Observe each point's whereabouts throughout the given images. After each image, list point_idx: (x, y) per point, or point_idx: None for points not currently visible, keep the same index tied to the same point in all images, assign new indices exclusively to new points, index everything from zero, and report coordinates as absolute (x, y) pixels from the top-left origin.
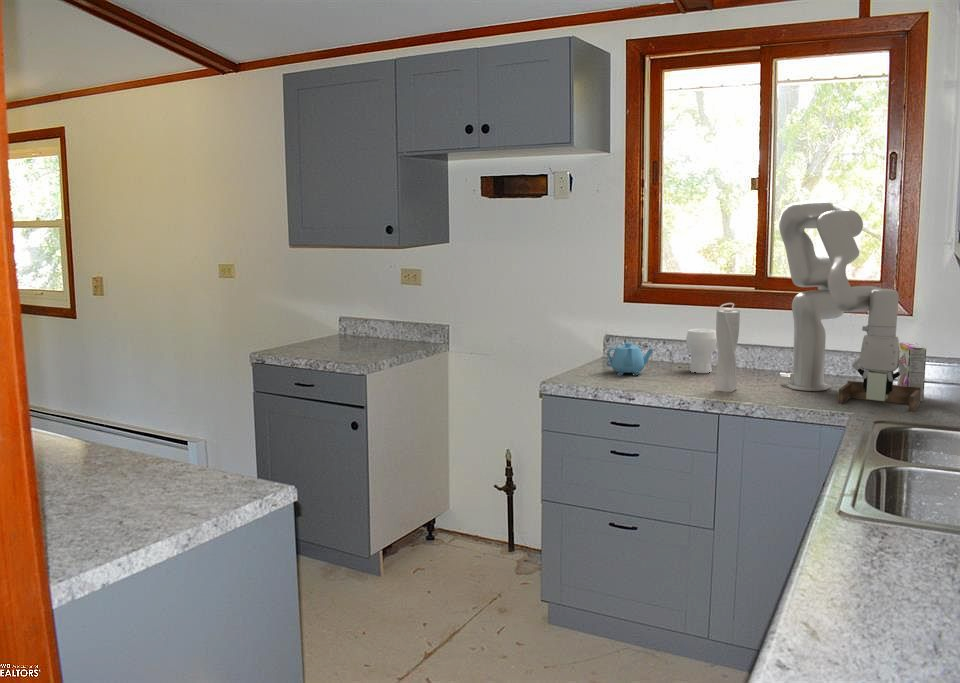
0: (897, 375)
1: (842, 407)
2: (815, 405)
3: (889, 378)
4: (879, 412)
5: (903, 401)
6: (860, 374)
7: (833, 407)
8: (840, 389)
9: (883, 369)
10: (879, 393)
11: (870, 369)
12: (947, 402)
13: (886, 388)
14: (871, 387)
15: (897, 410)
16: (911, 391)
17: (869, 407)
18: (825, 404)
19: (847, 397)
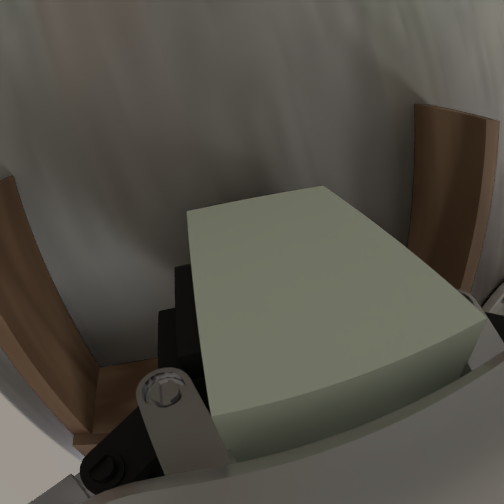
0: (92, 457)
1: (390, 23)
2: (479, 25)
3: (185, 400)
4: (146, 4)
5: (152, 366)
6: (490, 313)
7: (420, 5)
8: (492, 120)
9: (297, 479)
10: (238, 225)
11: (496, 360)
12: (67, 443)
13: (193, 294)
14: (334, 232)
15: (75, 159)
16: (115, 421)
17: (261, 115)
18: (463, 65)
19: (417, 242)
